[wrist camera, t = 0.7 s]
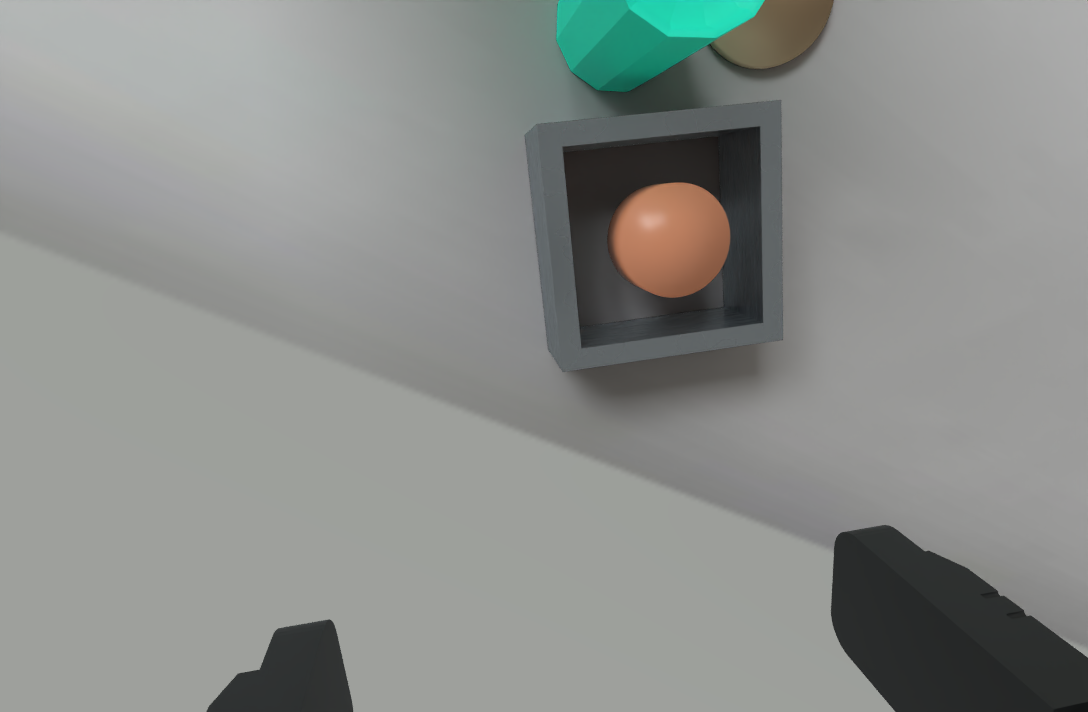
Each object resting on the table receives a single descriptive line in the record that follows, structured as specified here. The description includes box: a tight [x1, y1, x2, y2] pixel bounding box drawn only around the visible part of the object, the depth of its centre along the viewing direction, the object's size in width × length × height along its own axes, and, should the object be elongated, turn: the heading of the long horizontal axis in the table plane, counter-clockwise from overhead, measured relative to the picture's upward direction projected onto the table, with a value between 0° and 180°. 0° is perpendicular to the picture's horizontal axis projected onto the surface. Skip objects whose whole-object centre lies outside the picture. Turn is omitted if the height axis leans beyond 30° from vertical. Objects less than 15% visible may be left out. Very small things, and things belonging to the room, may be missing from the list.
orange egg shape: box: [607, 182, 730, 298], centre depth 28 cm, size 5×5×2 cm
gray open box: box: [525, 100, 783, 372], centre depth 30 cm, size 11×11×4 cm
